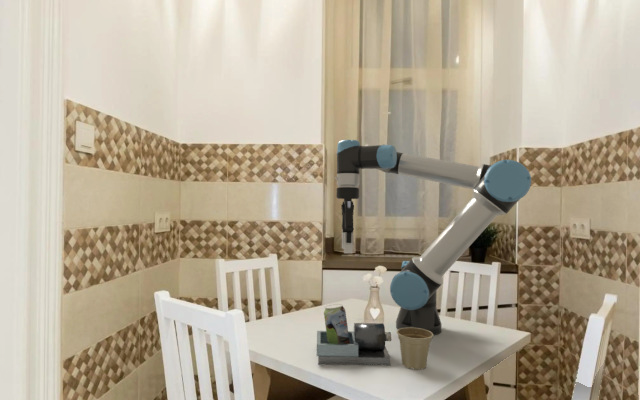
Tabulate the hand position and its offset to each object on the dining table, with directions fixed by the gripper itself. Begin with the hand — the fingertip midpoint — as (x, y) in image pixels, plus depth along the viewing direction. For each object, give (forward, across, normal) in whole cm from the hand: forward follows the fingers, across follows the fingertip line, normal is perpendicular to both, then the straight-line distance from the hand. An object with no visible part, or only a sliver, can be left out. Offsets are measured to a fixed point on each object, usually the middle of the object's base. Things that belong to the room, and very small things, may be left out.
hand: (347, 250), depth 137 cm
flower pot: (+27, +28, +16) cm, 42 cm away
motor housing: (+27, +22, 0) cm, 35 cm away
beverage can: (+25, +22, -4) cm, 33 cm away
